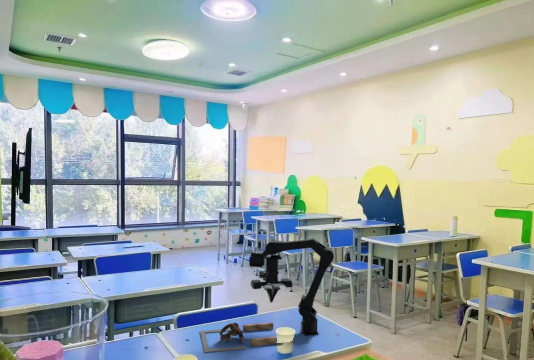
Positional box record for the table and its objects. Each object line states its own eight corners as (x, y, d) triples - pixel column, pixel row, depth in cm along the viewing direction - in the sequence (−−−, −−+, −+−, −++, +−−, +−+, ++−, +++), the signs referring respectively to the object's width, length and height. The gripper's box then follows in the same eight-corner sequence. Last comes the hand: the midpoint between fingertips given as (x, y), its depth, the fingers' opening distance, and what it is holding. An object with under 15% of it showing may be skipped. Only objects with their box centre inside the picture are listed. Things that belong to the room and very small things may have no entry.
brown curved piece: (244, 348, 152) (234, 331, 150) (224, 355, 154) (214, 339, 152) (248, 329, 164) (239, 314, 162) (229, 336, 165) (220, 321, 164)
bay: (235, 329, 170) (235, 328, 170) (244, 349, 150) (244, 348, 150) (199, 331, 166) (199, 331, 166) (204, 352, 145) (204, 351, 145)
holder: (272, 327, 173) (272, 322, 173) (283, 343, 156) (283, 337, 156) (242, 330, 169) (242, 324, 169) (251, 346, 152) (251, 340, 152)
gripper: (285, 264, 182) (284, 296, 182) (248, 265, 177) (247, 298, 177) (293, 269, 172) (292, 303, 171) (253, 270, 167) (252, 305, 166)
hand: (271, 302), depth 172 cm, fingers closed
